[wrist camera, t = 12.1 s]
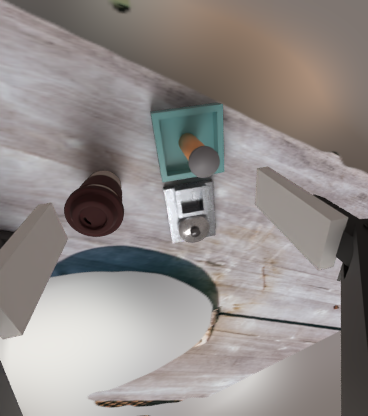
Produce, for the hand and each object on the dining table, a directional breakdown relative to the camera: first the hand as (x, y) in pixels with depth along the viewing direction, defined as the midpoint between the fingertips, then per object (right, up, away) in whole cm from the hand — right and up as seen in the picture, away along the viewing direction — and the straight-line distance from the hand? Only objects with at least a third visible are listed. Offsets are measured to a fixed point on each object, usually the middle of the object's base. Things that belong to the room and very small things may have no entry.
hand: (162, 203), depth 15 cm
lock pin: (+2, +14, +34) cm, 37 cm away
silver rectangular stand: (+3, -1, +44) cm, 44 cm away
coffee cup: (-17, +5, +37) cm, 41 cm away
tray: (+2, +15, +35) cm, 38 cm away
